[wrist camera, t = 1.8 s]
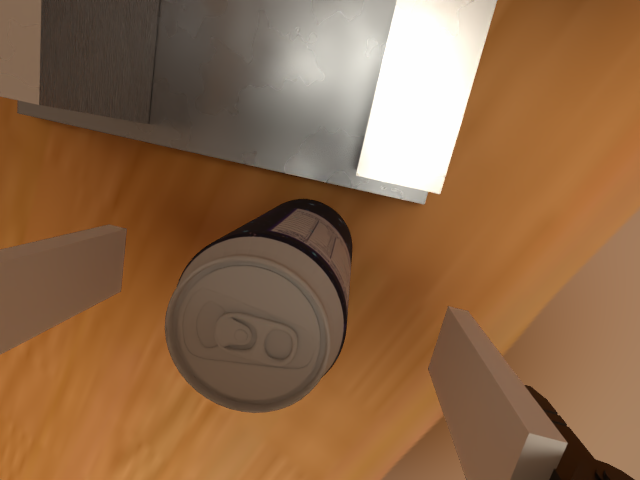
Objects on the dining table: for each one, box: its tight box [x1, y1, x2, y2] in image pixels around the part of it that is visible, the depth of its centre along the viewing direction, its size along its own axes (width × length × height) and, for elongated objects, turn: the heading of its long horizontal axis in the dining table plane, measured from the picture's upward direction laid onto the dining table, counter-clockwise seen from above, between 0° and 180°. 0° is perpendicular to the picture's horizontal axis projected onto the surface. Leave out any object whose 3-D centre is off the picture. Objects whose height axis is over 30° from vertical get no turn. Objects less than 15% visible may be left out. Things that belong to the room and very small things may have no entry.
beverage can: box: [165, 199, 352, 413], centre depth 16 cm, size 6×6×12 cm
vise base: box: [18, 0, 497, 204], centre depth 16 cm, size 10×24×8 cm, turn 78°
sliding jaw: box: [0, 0, 160, 124], centre depth 16 cm, size 8×7×7 cm
